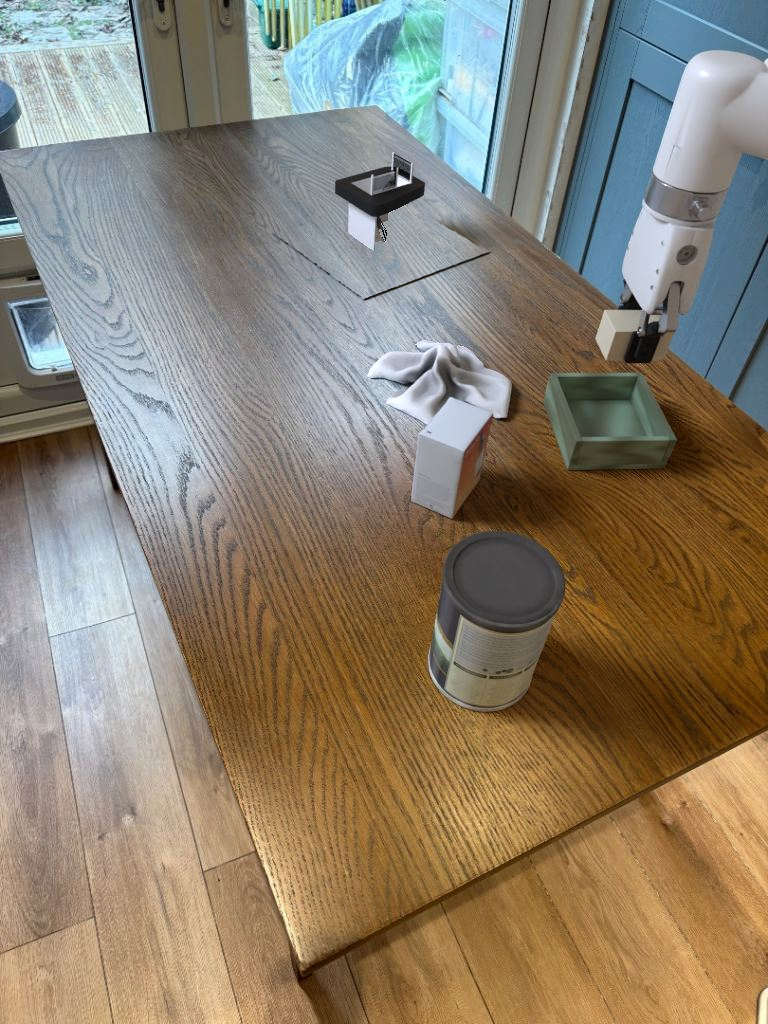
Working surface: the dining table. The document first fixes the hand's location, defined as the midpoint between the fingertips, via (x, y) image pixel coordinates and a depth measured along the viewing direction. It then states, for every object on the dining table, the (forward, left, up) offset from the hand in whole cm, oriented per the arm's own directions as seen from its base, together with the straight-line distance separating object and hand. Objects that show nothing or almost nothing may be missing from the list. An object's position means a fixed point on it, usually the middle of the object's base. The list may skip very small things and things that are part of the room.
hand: (630, 347), depth 88 cm
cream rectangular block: (0, 0, 0) cm, 0 cm away
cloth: (+20, -12, -14) cm, 27 cm away
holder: (0, 0, -13) cm, 13 cm away
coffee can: (+22, +34, -14) cm, 43 cm away
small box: (+22, +10, -14) cm, 28 cm away
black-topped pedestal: (+25, -51, -14) cm, 58 cm away
